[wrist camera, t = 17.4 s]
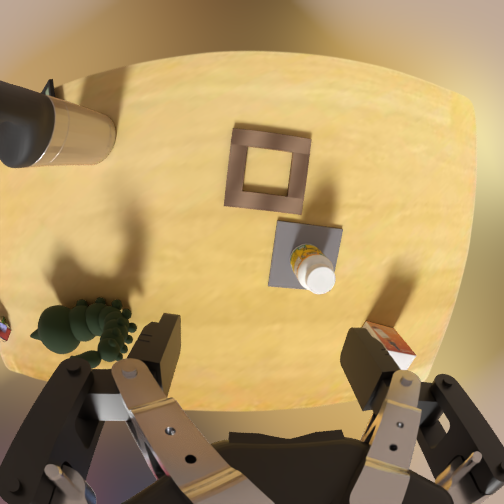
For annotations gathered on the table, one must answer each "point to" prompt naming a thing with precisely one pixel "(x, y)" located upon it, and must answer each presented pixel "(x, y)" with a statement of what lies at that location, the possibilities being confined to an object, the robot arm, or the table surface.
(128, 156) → the table surface
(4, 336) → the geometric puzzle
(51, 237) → the table surface
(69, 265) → the table surface
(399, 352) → the small box
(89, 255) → the table surface
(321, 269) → the supplement bottle
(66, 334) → the toy figurine
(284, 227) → the charcoal mat
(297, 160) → the walnut dock
